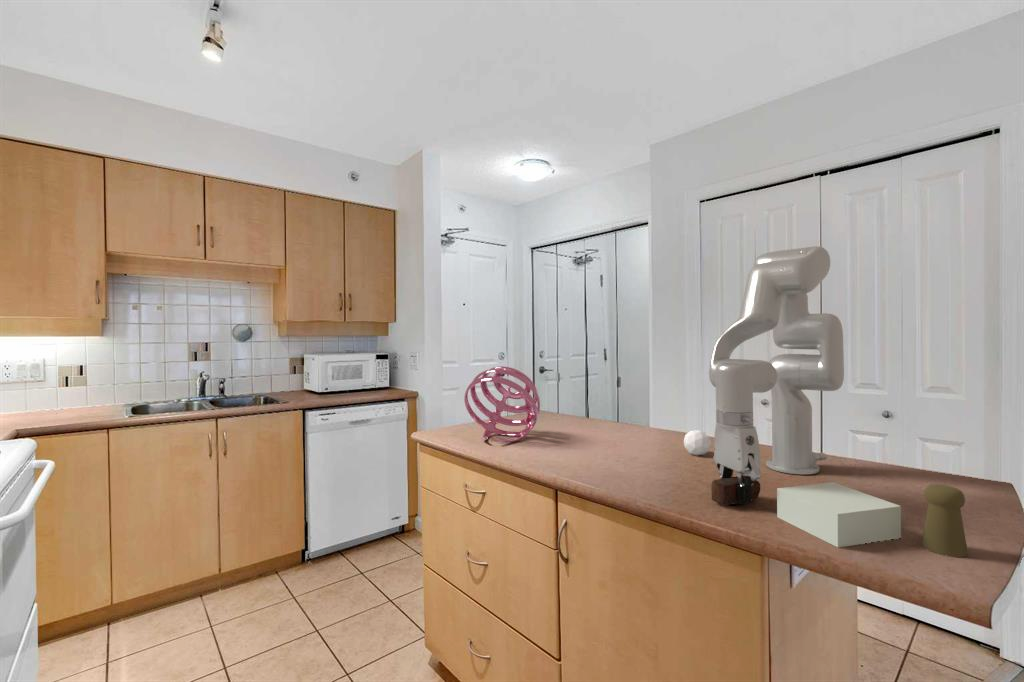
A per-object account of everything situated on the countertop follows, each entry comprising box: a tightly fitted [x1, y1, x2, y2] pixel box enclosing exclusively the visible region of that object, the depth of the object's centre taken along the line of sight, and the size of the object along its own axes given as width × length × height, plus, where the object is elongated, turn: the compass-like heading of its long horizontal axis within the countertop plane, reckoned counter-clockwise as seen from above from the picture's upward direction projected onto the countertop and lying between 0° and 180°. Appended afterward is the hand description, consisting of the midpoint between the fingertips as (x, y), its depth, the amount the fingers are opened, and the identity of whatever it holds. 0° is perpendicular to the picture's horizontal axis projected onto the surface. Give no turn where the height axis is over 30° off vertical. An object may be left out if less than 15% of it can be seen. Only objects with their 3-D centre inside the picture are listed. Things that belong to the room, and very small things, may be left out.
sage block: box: [776, 481, 902, 548], centre depth 91 cm, size 14×14×6 cm
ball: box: [683, 429, 712, 456], centre depth 145 cm, size 8×8×8 cm
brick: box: [710, 474, 761, 506], centre depth 105 cm, size 11×4×5 cm, turn 112°
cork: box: [920, 483, 969, 558], centre depth 81 cm, size 6×6×11 cm
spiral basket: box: [464, 366, 541, 444], centre depth 170 cm, size 28×28×27 cm
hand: (735, 497), depth 105 cm, fingers closed on brick, 4 cm apart
